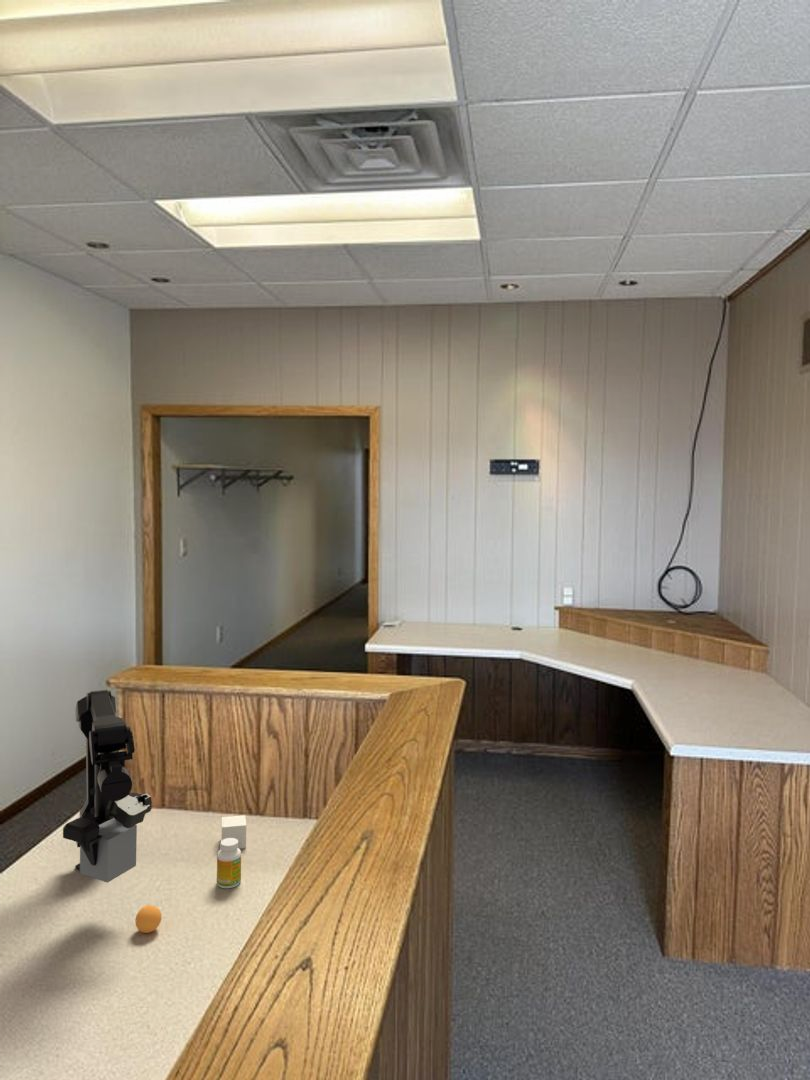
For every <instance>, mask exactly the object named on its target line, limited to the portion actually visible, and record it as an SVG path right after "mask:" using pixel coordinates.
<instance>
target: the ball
mask: <svg viewBox="0 0 810 1080" xmlns="http://www.w3.org/2000/svg"><path fill="white" fill-rule="evenodd" d="M161 922H162V912H161V910H160V909H159V908H158V907H157V906H155V905H152V904H148V905H145V906H143V907H141V908H140V909H139V910H138V912H137V914H136V916H135V927H136V928H137V930H138V931H139V932H140V933H144V934H149V933H152V932H154V931H155V930H156V929H158V927H159V926H160V924H161Z"/></svg>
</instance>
